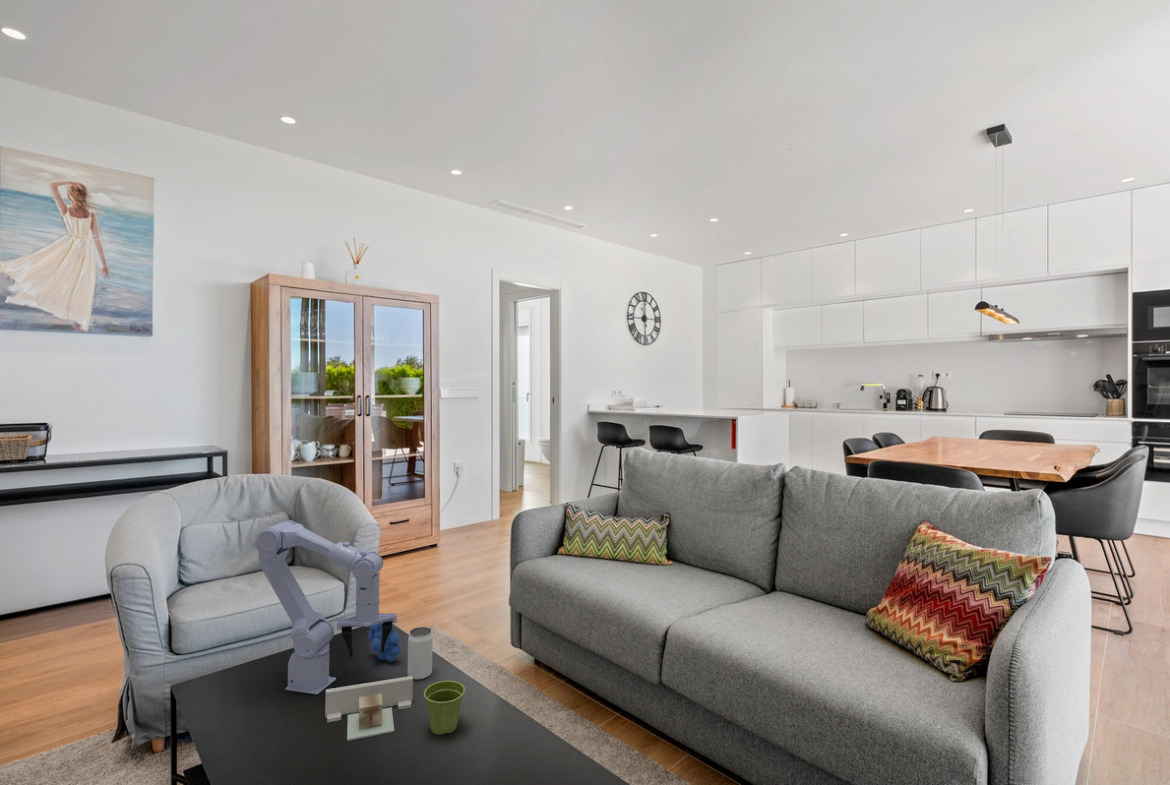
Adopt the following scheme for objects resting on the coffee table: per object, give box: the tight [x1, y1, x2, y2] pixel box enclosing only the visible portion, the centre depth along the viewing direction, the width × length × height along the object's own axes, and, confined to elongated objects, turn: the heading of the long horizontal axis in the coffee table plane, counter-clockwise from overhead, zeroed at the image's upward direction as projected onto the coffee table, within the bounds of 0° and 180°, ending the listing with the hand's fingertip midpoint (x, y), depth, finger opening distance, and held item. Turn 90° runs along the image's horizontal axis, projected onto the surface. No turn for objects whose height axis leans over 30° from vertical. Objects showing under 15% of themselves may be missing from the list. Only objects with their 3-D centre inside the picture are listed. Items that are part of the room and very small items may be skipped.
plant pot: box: [423, 680, 466, 735], centre depth 136 cm, size 9×9×9 cm
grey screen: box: [324, 675, 414, 723], centre depth 144 cm, size 20×6×6 cm, turn 111°
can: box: [407, 626, 434, 681], centre depth 160 cm, size 6×6×12 cm
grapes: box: [367, 623, 401, 663], centre depth 167 cm, size 12×7×12 cm, turn 64°
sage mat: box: [346, 706, 395, 742], centre depth 137 cm, size 10×10×1 cm
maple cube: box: [358, 694, 383, 730], centre depth 137 cm, size 5×5×5 cm
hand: (366, 652), depth 152 cm, fingers open, 7 cm apart
